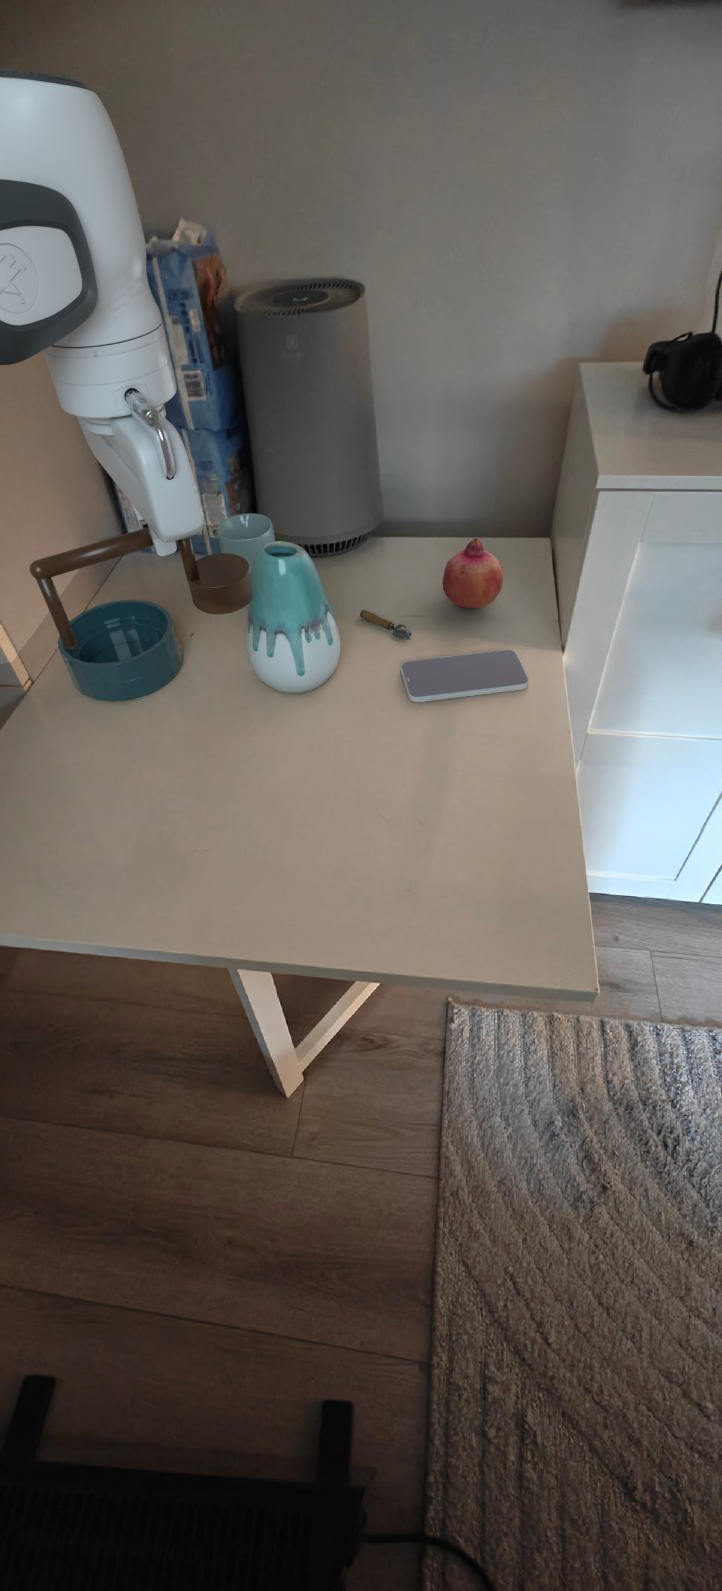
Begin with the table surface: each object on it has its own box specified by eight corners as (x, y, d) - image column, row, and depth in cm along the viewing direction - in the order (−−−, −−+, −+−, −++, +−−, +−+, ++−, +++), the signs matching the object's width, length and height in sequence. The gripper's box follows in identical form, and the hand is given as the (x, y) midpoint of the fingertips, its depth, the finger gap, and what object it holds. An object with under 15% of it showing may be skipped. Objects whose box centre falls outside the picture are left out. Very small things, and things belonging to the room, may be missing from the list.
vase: (331, 641, 98) (319, 514, 85) (353, 694, 90) (343, 563, 77) (246, 658, 97) (220, 531, 83) (261, 713, 89) (235, 583, 76)
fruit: (431, 600, 104) (432, 534, 96) (480, 585, 106) (485, 519, 98) (460, 629, 98) (463, 562, 91) (511, 612, 100) (518, 545, 93)
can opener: (359, 618, 101) (358, 611, 100) (371, 611, 102) (371, 604, 101) (406, 644, 97) (406, 637, 96) (418, 637, 98) (418, 629, 97)
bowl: (131, 717, 90) (117, 678, 85) (51, 683, 95) (33, 645, 91) (204, 654, 98) (194, 616, 93) (126, 627, 103) (113, 589, 99)
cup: (279, 604, 105) (269, 539, 98) (226, 605, 105) (212, 541, 98) (284, 575, 110) (275, 511, 103) (233, 577, 111) (221, 513, 103)
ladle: (239, 573, 74) (223, 489, 68) (264, 601, 71) (249, 515, 64) (56, 634, 69) (19, 548, 62) (72, 668, 65) (35, 580, 58)
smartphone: (531, 683, 89) (409, 698, 88) (530, 689, 89) (409, 704, 88) (514, 647, 94) (399, 661, 93) (513, 653, 94) (399, 667, 93)
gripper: (202, 404, 49) (238, 586, 59) (115, 331, 62) (157, 492, 72) (111, 426, 47) (164, 610, 57) (40, 347, 60) (94, 510, 70)
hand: (160, 544), depth 65 cm, fingers closed on ladle
